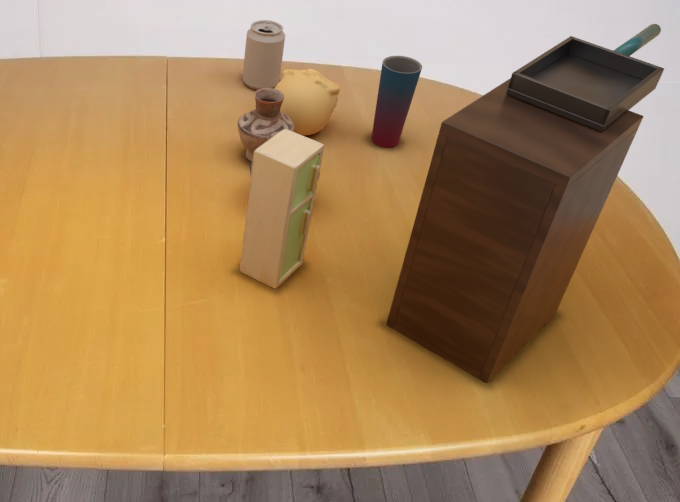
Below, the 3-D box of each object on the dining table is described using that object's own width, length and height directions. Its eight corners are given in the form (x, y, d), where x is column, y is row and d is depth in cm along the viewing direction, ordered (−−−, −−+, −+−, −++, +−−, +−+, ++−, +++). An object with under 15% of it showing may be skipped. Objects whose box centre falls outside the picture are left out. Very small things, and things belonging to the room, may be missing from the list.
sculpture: (340, 125, 165) (351, 71, 158) (308, 150, 158) (317, 95, 151) (289, 105, 170) (296, 52, 163) (255, 128, 163) (261, 74, 155)
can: (237, 88, 174) (243, 29, 166) (247, 72, 179) (253, 15, 171) (274, 95, 173) (281, 36, 165) (282, 79, 178) (290, 21, 170)
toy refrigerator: (279, 292, 128) (299, 169, 114) (238, 272, 131) (252, 149, 117) (307, 266, 133) (329, 145, 118) (267, 247, 136) (284, 126, 121)
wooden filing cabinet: (486, 383, 116) (570, 177, 94) (385, 324, 124) (441, 121, 102) (555, 314, 127) (644, 115, 105) (458, 264, 135) (522, 70, 113)
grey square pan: (601, 132, 102) (610, 110, 100) (505, 93, 108) (512, 72, 106) (695, 56, 118) (705, 36, 116) (607, 27, 124) (615, 7, 122)
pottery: (285, 140, 160) (293, 80, 152) (322, 220, 142) (333, 156, 134) (224, 143, 158) (230, 82, 150) (254, 224, 140) (262, 159, 132)
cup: (398, 154, 158) (417, 76, 148) (361, 144, 160) (378, 67, 150) (407, 137, 163) (426, 61, 153) (371, 128, 165) (388, 52, 155)
